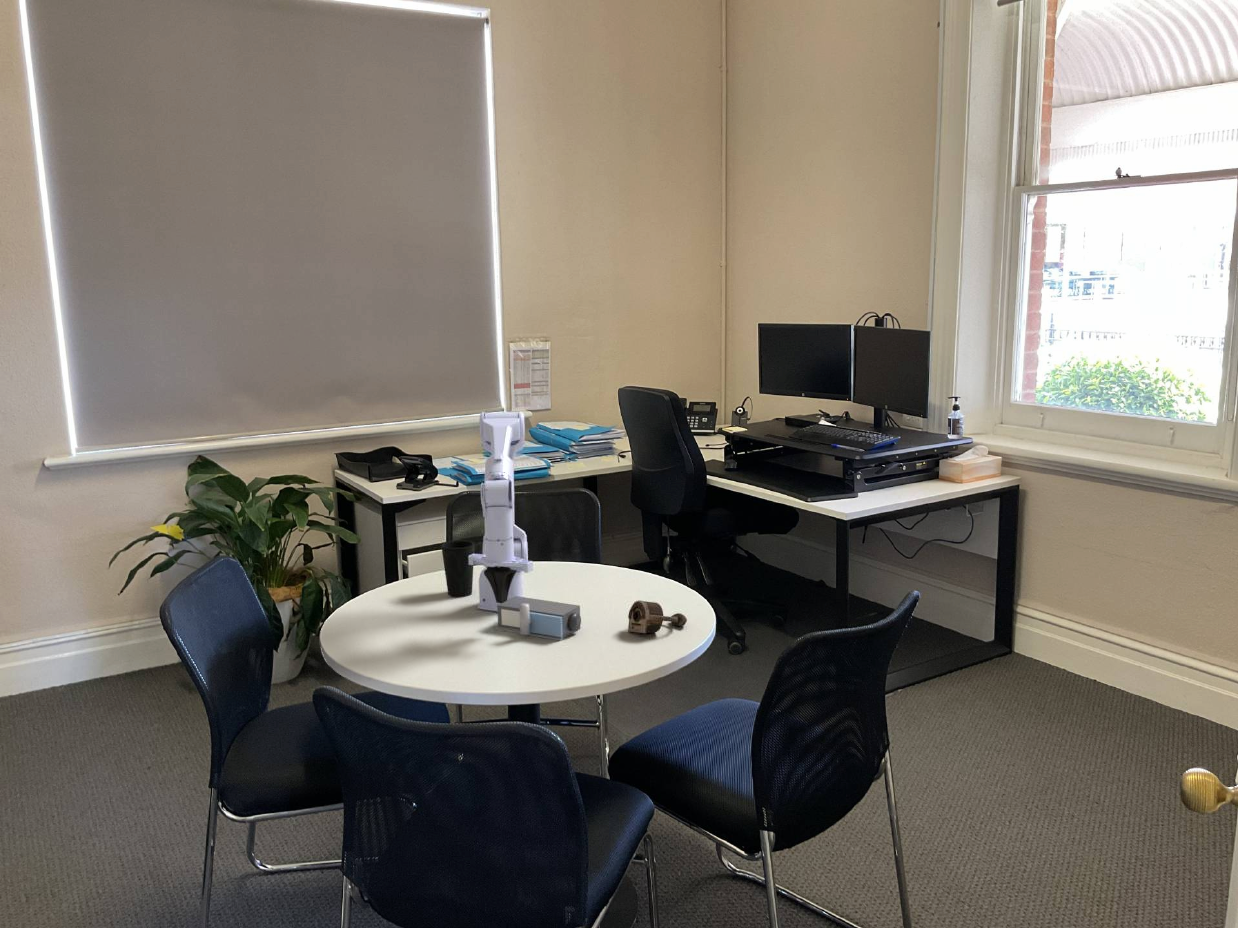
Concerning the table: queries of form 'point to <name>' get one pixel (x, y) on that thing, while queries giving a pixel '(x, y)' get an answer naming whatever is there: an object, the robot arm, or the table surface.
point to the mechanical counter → (650, 617)
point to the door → (539, 623)
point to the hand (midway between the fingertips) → (501, 601)
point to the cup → (458, 567)
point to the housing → (568, 612)
